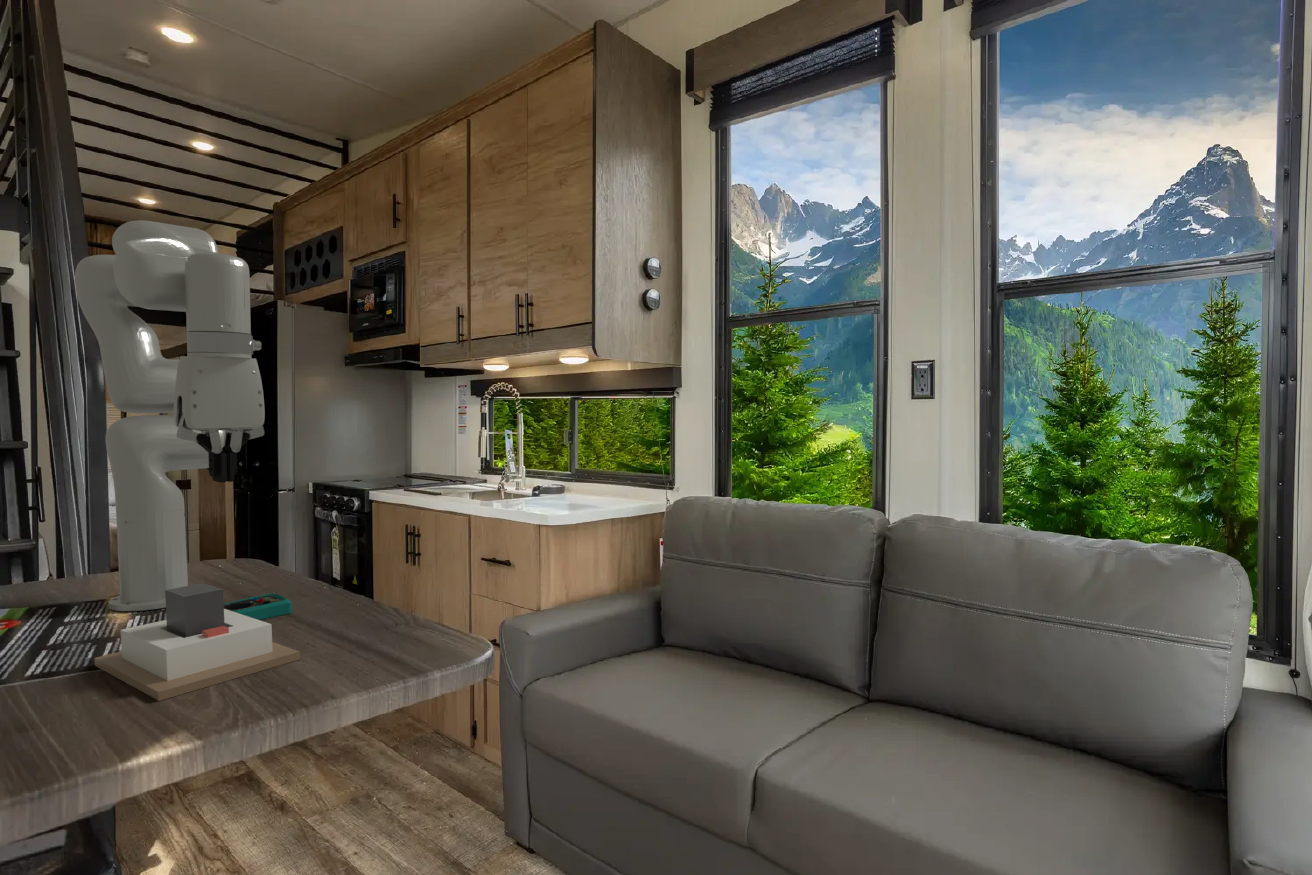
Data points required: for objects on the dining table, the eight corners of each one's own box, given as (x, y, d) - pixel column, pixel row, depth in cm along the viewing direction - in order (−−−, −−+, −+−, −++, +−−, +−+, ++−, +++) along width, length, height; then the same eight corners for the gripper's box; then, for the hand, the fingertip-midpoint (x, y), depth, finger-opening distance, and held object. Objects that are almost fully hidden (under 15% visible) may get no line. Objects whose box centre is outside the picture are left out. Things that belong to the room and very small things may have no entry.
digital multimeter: (296, 615, 116) (295, 596, 116) (192, 639, 104) (191, 619, 104) (274, 608, 120) (274, 590, 120) (172, 630, 109) (171, 611, 109)
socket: (94, 665, 93) (92, 625, 92) (228, 632, 106) (226, 597, 105) (158, 700, 81) (156, 654, 81) (300, 659, 94) (298, 619, 94)
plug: (167, 653, 93) (165, 589, 93) (205, 644, 97) (202, 582, 96) (187, 662, 90) (184, 596, 89) (225, 652, 93) (223, 589, 93)
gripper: (264, 350, 107) (266, 474, 108) (145, 345, 95) (150, 484, 97) (288, 349, 103) (291, 478, 104) (167, 343, 91) (172, 489, 92)
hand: (223, 480), depth 100 cm, fingers closed
